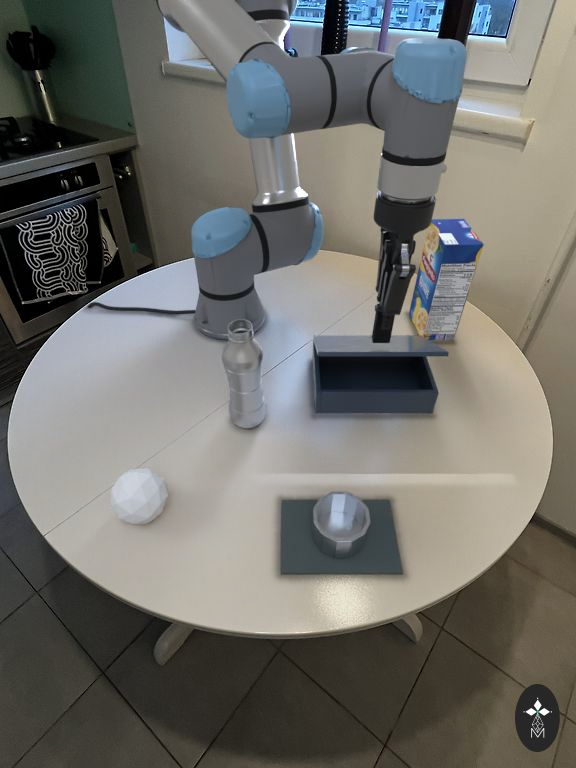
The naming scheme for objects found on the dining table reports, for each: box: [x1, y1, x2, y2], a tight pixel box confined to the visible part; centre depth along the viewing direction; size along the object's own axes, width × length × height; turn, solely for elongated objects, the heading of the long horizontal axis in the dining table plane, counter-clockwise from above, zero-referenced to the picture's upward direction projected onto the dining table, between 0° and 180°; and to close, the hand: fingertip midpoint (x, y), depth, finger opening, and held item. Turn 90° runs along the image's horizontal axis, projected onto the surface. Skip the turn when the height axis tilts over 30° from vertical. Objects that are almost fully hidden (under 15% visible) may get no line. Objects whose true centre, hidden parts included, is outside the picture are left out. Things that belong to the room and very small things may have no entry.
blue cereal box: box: [408, 218, 485, 341], centre depth 91 cm, size 7×11×22 cm, turn 2°
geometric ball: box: [109, 467, 169, 525], centre depth 64 cm, size 8×8×8 cm
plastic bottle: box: [221, 319, 268, 429], centre depth 72 cm, size 6×7×20 cm
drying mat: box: [280, 499, 404, 575], centre depth 63 cm, size 16×11×1 cm
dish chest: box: [311, 339, 440, 414], centre depth 83 cm, size 15×21×6 cm
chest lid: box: [312, 335, 449, 357], centre depth 79 cm, size 15×21×1 cm
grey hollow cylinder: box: [312, 490, 370, 558], centre depth 61 cm, size 7×7×5 cm
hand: (380, 340), depth 73 cm, fingers closed
